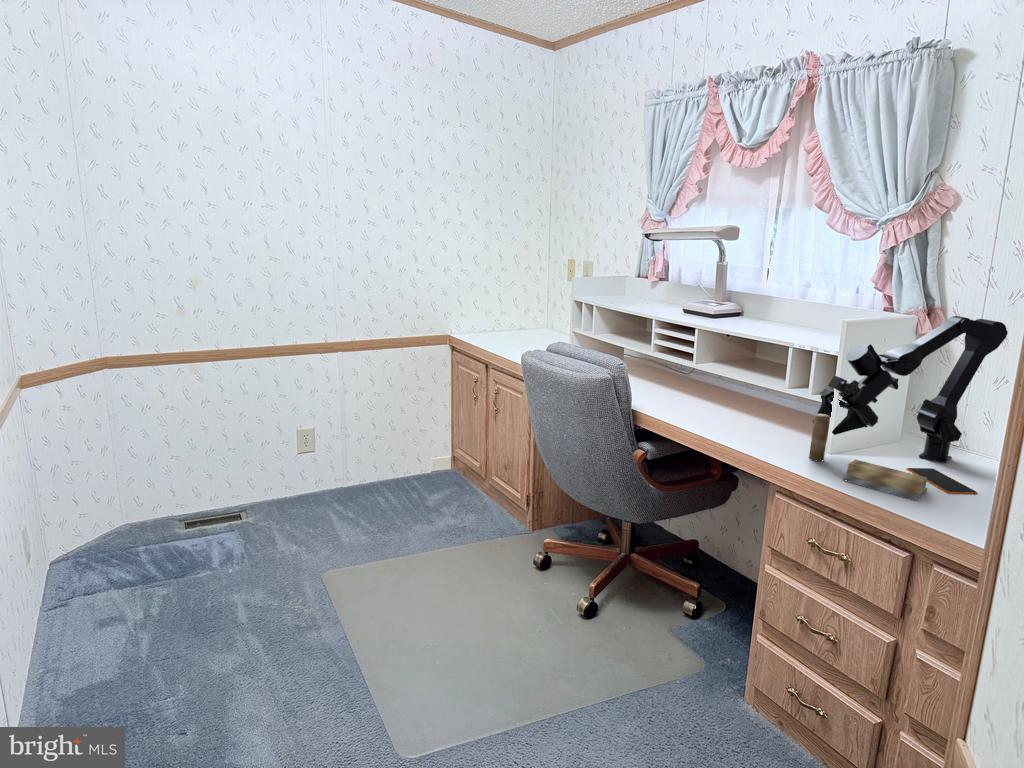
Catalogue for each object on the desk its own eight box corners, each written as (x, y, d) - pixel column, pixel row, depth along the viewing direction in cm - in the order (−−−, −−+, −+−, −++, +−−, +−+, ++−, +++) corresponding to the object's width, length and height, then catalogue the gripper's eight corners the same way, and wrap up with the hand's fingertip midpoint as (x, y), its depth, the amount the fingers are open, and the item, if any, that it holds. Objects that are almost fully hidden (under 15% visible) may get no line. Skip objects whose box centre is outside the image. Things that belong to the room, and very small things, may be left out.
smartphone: (932, 470, 176) (933, 467, 175) (978, 496, 159) (979, 492, 159) (904, 470, 175) (904, 467, 175) (947, 495, 159) (947, 492, 159)
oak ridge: (843, 480, 165) (845, 465, 164) (855, 473, 171) (857, 458, 170) (916, 500, 154) (919, 484, 153) (926, 491, 160) (929, 475, 159)
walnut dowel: (812, 455, 183) (818, 412, 180) (825, 459, 180) (832, 415, 178) (806, 458, 180) (812, 415, 178) (820, 462, 178) (826, 418, 175)
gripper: (831, 359, 184) (787, 398, 186) (874, 374, 166) (825, 417, 168) (854, 387, 187) (810, 426, 188) (899, 405, 169) (850, 447, 170)
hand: (823, 428), depth 179 cm, fingers open, 9 cm apart
